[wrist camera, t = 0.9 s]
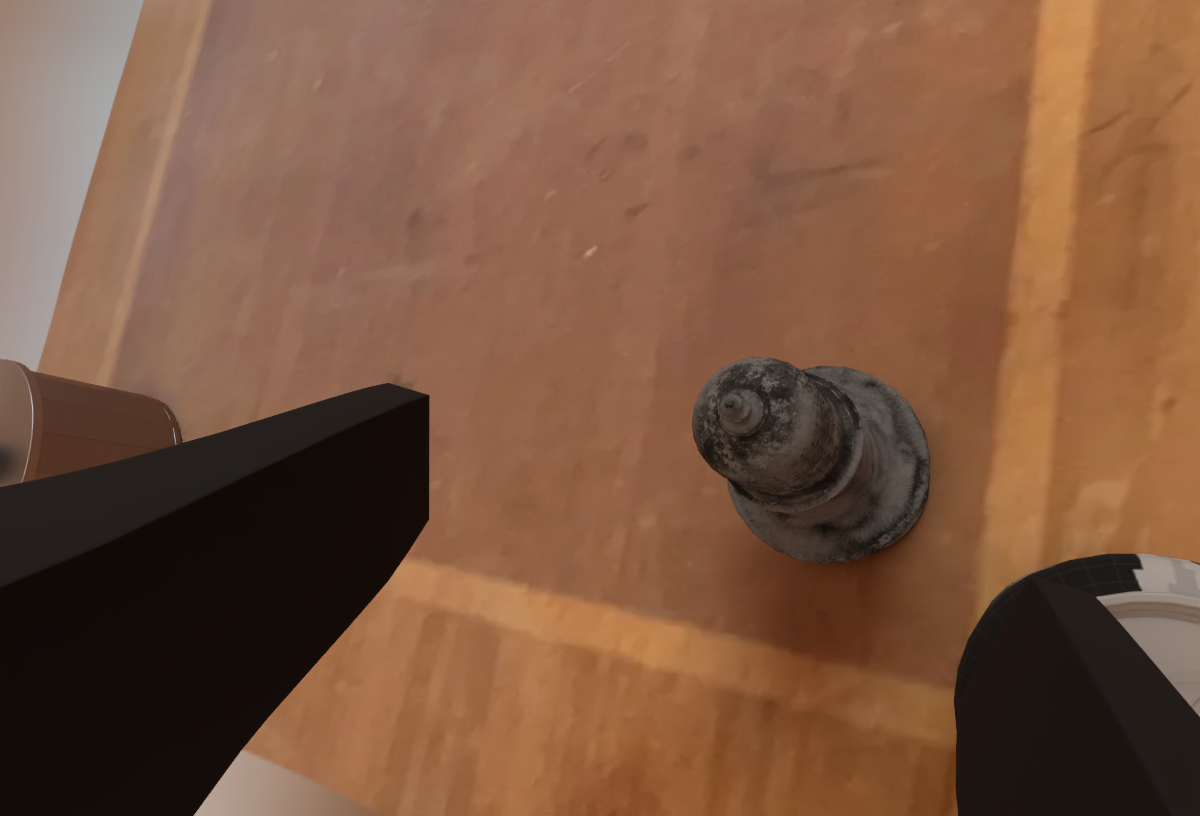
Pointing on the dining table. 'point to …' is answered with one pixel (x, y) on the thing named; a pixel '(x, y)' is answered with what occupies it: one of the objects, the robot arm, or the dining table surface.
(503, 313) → the dining table surface
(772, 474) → the chess piece
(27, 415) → the pot lid
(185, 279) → the dining table surface
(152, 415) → the pot
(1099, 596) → the beverage can
